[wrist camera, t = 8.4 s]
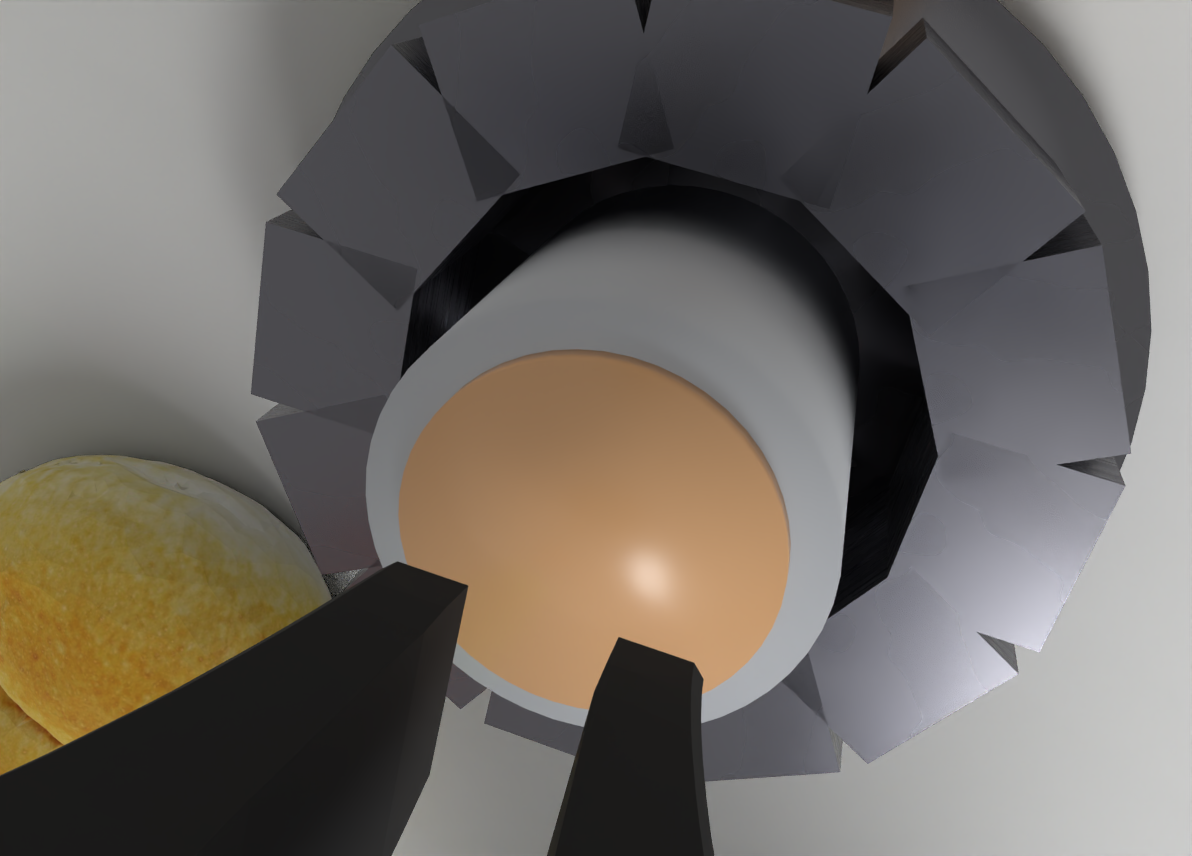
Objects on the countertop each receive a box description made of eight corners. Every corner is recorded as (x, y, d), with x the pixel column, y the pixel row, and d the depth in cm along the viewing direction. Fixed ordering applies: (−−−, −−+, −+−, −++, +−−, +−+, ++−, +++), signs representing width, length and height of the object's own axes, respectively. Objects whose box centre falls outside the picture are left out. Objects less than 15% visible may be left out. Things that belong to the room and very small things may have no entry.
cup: (805, 556, 17) (767, 808, 12) (488, 466, 17) (336, 668, 13) (907, 236, 14) (910, 391, 10) (538, 145, 15) (375, 250, 10)
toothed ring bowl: (947, 782, 18) (955, 935, 16) (281, 552, 20) (182, 655, 17) (1323, 35, 13) (1437, 67, 10) (365, -207, 14) (238, -236, 12)
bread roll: (460, 630, 20) (366, 784, 16) (237, 870, 24) (124, 1035, 21) (85, 333, 19) (-98, 428, 16) (-79, 634, 23) (-252, 762, 20)
